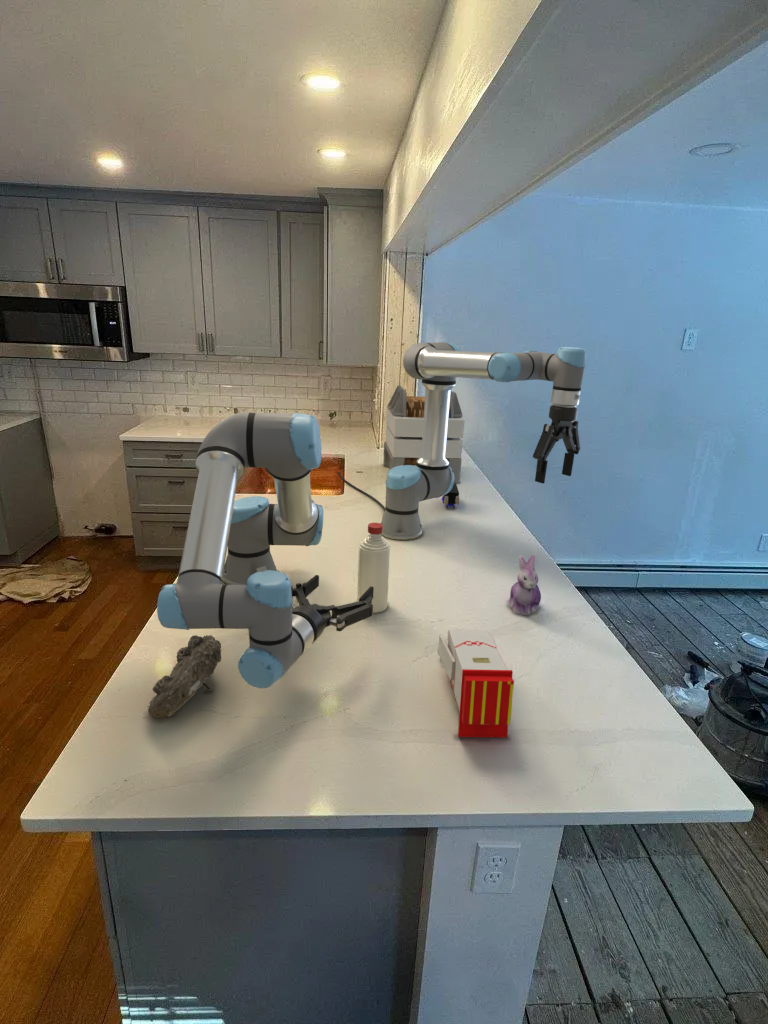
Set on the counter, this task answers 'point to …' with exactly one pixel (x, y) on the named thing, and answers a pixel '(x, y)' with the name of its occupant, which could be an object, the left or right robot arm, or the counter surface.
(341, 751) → the counter surface
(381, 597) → the bottle
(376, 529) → the cap
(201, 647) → the fossil
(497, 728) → the toy
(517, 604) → the figurine
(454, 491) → the figurine character
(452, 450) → the white slatted crate
